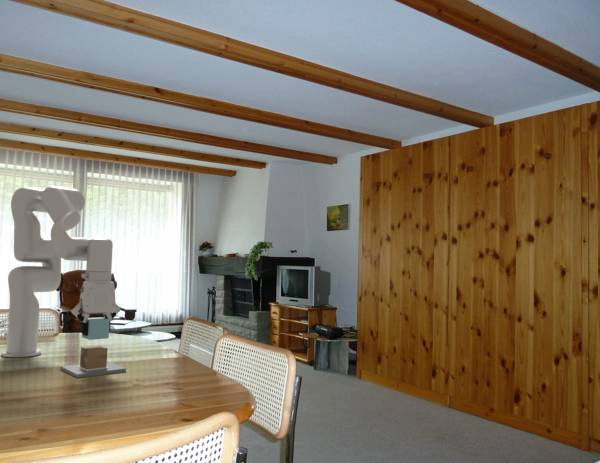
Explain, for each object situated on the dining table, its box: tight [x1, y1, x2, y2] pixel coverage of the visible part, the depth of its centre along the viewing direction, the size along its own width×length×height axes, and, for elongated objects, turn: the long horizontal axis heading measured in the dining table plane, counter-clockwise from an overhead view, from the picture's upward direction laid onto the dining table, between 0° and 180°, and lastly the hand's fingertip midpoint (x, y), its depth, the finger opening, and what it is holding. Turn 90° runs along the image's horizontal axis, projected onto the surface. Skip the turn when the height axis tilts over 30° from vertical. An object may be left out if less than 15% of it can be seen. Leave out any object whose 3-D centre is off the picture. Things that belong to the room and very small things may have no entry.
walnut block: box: [79, 344, 109, 370], centre depth 163 cm, size 6×6×6 cm
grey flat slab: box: [59, 360, 127, 379], centre depth 162 cm, size 14×15×1 cm
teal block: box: [81, 317, 110, 341], centre depth 163 cm, size 6×6×6 cm
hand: (95, 333), depth 163 cm, fingers closed on teal block, 6 cm apart
